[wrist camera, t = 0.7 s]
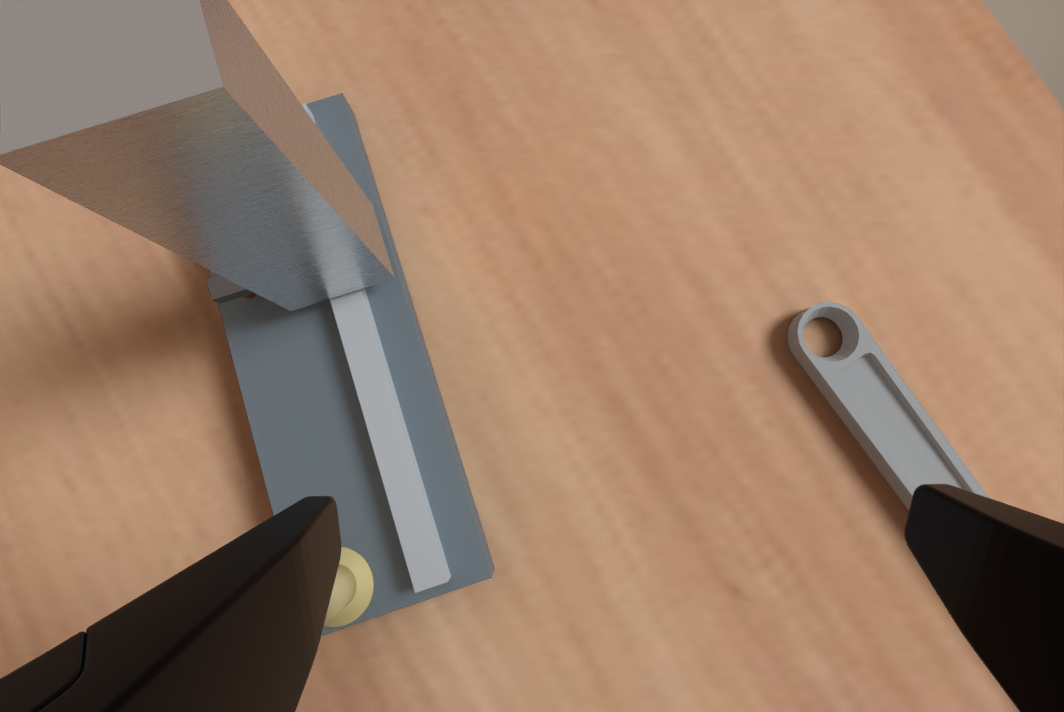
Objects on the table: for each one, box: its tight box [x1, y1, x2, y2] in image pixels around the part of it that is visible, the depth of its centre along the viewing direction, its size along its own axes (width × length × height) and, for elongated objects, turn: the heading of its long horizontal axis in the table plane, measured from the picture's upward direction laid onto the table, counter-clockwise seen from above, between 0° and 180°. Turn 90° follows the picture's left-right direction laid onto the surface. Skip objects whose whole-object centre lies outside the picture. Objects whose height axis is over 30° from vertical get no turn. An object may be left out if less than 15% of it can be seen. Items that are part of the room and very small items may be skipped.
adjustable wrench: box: [787, 302, 989, 511], centre depth 22 cm, size 25×6×2 cm, turn 28°
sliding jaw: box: [0, 0, 395, 311], centre depth 16 cm, size 3×6×13 cm, turn 108°
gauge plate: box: [209, 93, 495, 636], centre depth 22 cm, size 20×7×3 cm, turn 18°
